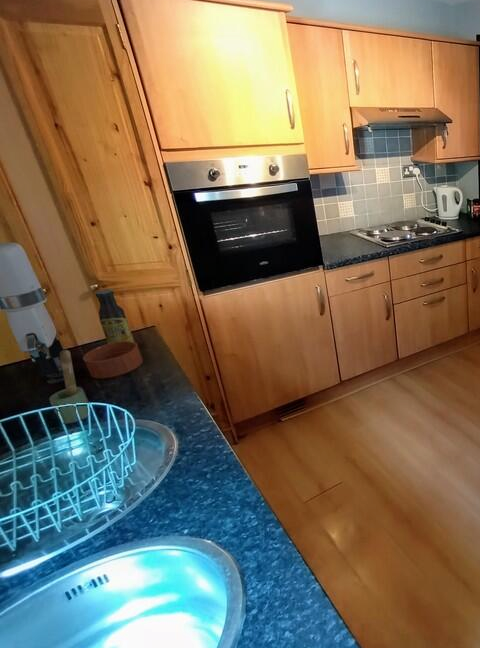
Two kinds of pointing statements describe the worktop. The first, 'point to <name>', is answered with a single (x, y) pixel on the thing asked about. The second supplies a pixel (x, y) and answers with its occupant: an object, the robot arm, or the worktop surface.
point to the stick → (68, 372)
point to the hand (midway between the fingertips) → (53, 365)
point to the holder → (70, 412)
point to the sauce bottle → (113, 318)
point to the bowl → (113, 359)
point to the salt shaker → (57, 376)
